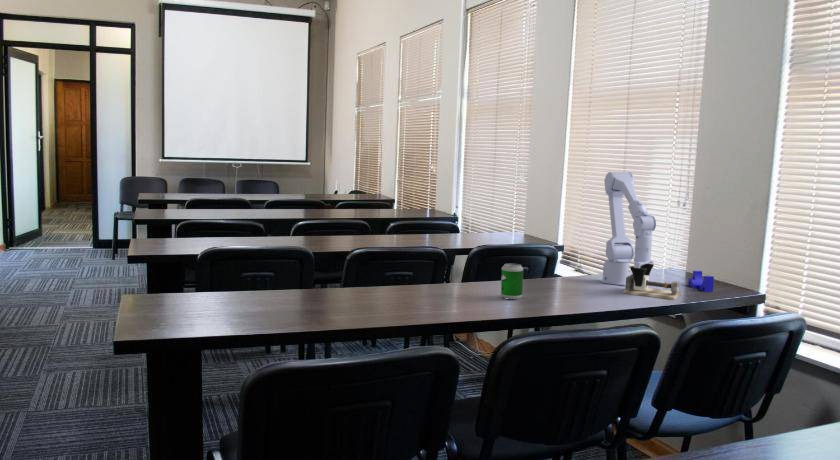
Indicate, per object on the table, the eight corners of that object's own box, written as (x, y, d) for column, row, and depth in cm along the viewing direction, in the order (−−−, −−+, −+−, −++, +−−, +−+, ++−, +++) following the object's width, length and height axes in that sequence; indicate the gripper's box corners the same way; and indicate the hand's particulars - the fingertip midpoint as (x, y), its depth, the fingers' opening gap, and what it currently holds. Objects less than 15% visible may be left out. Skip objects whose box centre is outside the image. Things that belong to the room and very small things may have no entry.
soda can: (524, 297, 234) (525, 264, 232) (518, 301, 227) (519, 267, 225) (504, 295, 237) (505, 262, 235) (498, 299, 230) (498, 265, 228)
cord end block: (633, 289, 242) (634, 276, 241) (637, 287, 246) (638, 274, 245) (644, 291, 240) (645, 277, 239) (648, 288, 244) (648, 275, 243)
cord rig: (623, 293, 242) (624, 277, 241) (631, 288, 250) (631, 273, 249) (674, 299, 232) (675, 283, 231) (680, 294, 240) (681, 279, 239)
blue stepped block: (688, 285, 257) (689, 270, 257) (699, 285, 257) (700, 270, 256) (700, 292, 245) (701, 276, 245) (712, 292, 245) (713, 276, 245)
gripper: (648, 251, 233) (647, 289, 234) (659, 247, 245) (657, 282, 246) (629, 249, 237) (627, 286, 238) (640, 245, 248) (638, 280, 250)
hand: (641, 284), depth 242 cm, fingers open, 7 cm apart
